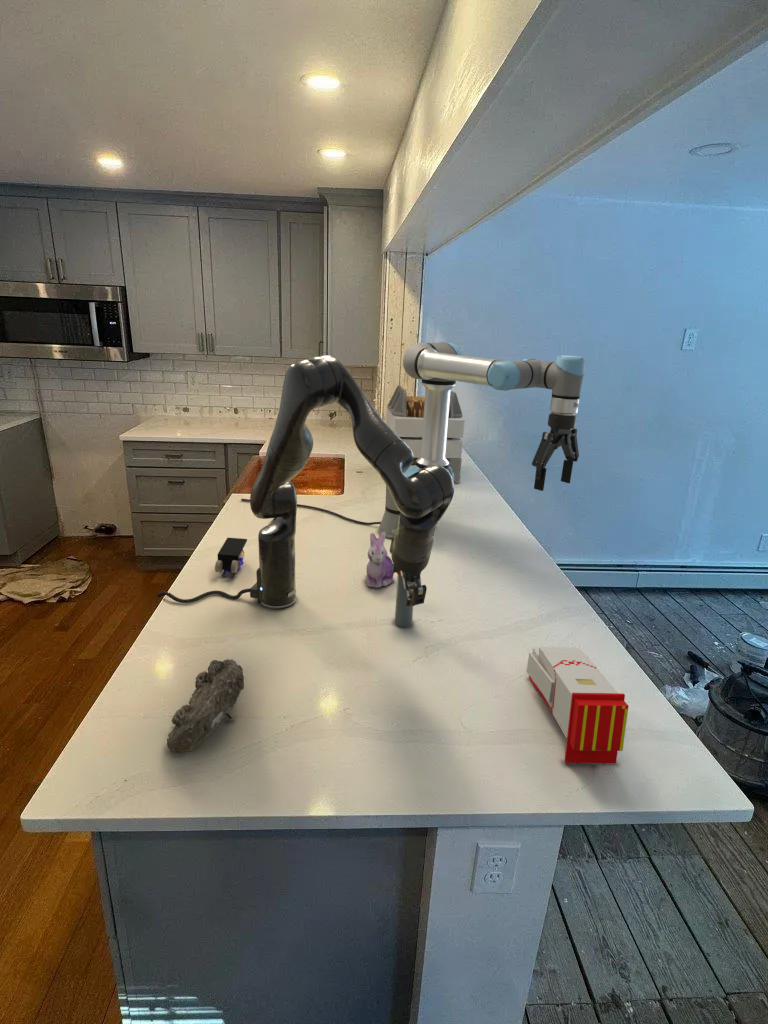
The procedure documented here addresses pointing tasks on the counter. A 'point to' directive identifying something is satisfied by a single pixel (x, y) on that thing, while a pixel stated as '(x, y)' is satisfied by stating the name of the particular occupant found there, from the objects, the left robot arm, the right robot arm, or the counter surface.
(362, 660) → the counter surface
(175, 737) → the fossil
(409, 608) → the jar
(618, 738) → the toy
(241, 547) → the figurine character
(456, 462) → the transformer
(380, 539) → the figurine
